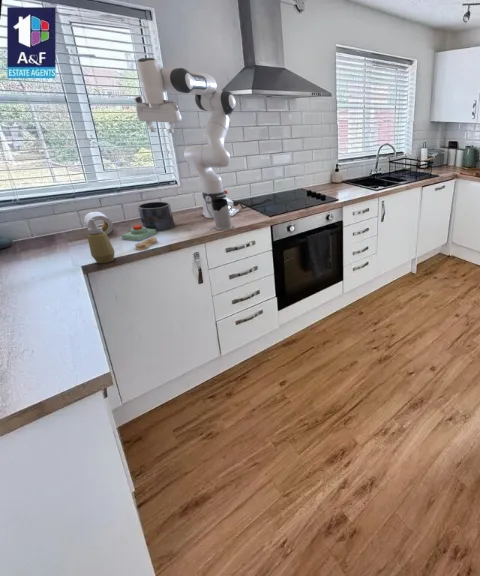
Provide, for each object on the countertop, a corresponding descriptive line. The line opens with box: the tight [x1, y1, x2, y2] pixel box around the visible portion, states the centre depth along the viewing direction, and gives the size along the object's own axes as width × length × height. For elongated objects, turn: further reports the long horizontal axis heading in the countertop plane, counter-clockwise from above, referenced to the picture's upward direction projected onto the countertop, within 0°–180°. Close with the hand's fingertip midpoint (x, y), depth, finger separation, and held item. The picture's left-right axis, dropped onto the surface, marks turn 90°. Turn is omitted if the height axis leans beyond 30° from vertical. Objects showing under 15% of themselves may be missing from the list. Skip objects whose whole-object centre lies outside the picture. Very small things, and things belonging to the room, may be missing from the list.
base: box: [121, 226, 157, 242], centre depth 184 cm, size 12×9×4 cm
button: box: [132, 224, 143, 230], centre depth 182 cm, size 4×4×2 cm
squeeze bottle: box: [86, 219, 115, 264], centre depth 152 cm, size 8×8×18 cm
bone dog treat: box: [134, 236, 158, 251], centre depth 173 cm, size 11×4×2 cm, turn 170°
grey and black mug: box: [206, 199, 233, 231], centre depth 198 cm, size 9×14×15 cm, turn 68°
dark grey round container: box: [137, 201, 176, 232], centre depth 195 cm, size 15×15×12 cm
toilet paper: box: [83, 211, 114, 236], centre depth 184 cm, size 10×10×10 cm
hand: (162, 132), depth 173 cm, fingers open, 8 cm apart
